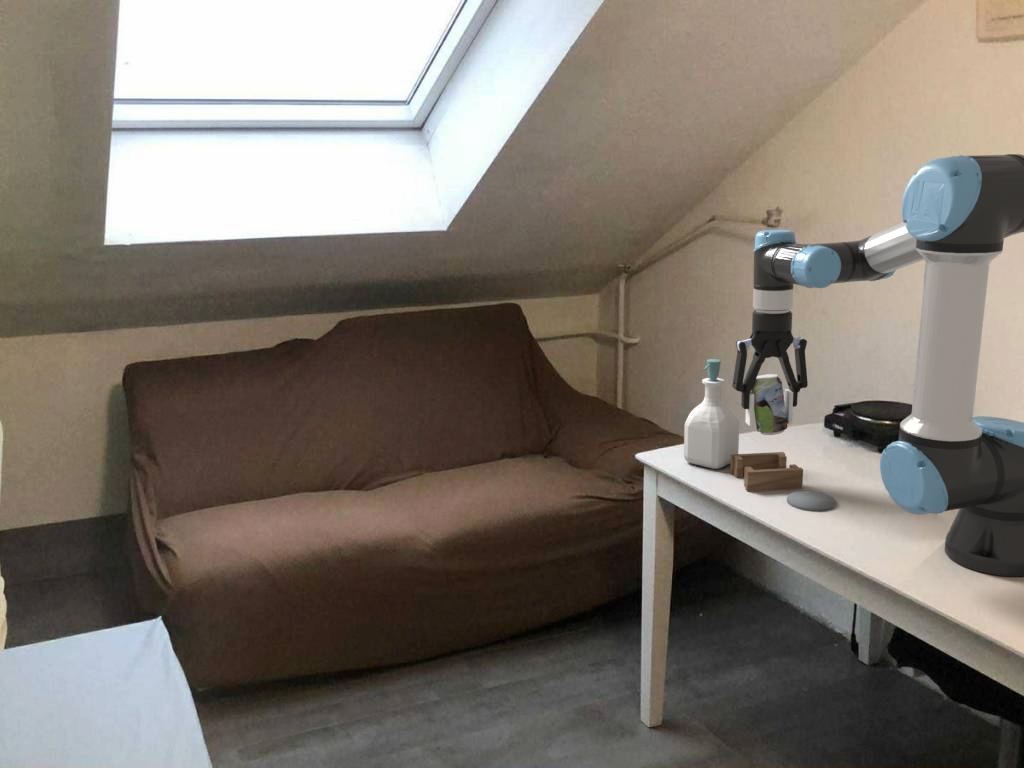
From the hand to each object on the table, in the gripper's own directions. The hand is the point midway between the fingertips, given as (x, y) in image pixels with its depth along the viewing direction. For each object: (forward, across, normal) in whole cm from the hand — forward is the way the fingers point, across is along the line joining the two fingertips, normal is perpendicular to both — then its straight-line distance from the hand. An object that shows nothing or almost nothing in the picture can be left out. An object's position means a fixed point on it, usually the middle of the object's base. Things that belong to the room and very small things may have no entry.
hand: (768, 423), depth 193 cm
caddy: (+12, 0, 0) cm, 12 cm away
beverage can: (+2, 0, 0) cm, 2 cm away
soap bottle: (+12, +8, -13) cm, 20 cm away
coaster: (+12, -4, +12) cm, 18 cm away
